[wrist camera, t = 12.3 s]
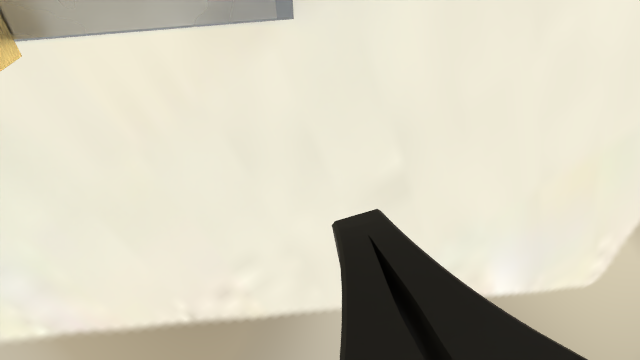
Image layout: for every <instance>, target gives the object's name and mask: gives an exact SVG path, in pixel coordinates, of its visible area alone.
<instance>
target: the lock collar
mask: <svg viewBox="0 0 640 360" xmlns="http://www.w3.org/2000/svg"><path fill="white" fill-rule="evenodd" d="M20 57H22V55H21V53H20V51H19V50H18V48H17V46H16V44H15V42H14V40H13V38H12V36H11V34H10V32H9V30H8V28H7V26H6V24H5V22H4V20H3V18H2V17H1V15H0V71H2V70H3V69H5V68H6V67H7V66H9V65H10V64H12V63H13V62H14V61H16V60H17V59H19V58H20Z"/></svg>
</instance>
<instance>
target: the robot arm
mask: <svg viewBox="0 0 640 360" xmlns="http://www.w3.org/2000/svg"><path fill="white" fill-rule="evenodd" d="M332 228H333V233H334V238H335V242H336V247H337V252H338V257H339V262H340V267H341V281H342V331H341V349H340V360H587V359H586V358H584V357H582V356H580V355H578V354H577V353H575V352H573V351H571V350H570V349H568V348H566V347H564V346H562V345H561V344H559V343H557V342H555V341H553V340H552V339H550V338H548V337H546V336H544V335H543V334H541V333H539V332H537V331H536V330H534V329H532V328H531V327H529V326H527V325H526V324H524V323H523V322H521V321H519V320H518V319H516V318H515V317H513V316H511V315H510V314H508V313H507V312H505V311H503V310H502V309H500V308H499V307H497V306H496V305H494V304H493V303H491V302H490V301H488V300H487V299H485V298H484V297H483V296H481V295H480V294H478V293H477V292H475V291H474V290H473V289H471V288H470V287H468V286H467V285H466V284H464V283H463V282H462V281H460V280H459V279H458V278H456V277H455V276H454V275H452V274H451V273H450V272H449V271H447V270H446V269H445V268H443V267H442V266H441V265H440V264H438V263H437V262H436V261H435V260H434V259H432V258H431V257H430V256H429V255H428V254H426V253H425V252H424V251H423V250H422V249H420V248H419V247H418V246H417V245H416V244H415V243H414V242H412V241H411V240H410V239H409V238H408V237H407V236H406V235H405V234H404V233H403V232H402V231H400V230H399V229H398V228H397V227H396V226H395V225H394V224H393V223H392V222H391V221H390V220H389V219H388V218H387V217H386V216H385V215H384V214H383V213H382V212H381V211H380V210H378V209H375V210H372V211H369V212H365V213H362V214H358V215H355V216H351V217H348V218H345V219H341V220H338V221H335V222H334V223H333V225H332Z"/></svg>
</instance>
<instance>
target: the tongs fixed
mask: <svg viewBox="0 0 640 360" xmlns="http://www.w3.org/2000/svg"><path fill="white" fill-rule="evenodd" d="M0 15H1V17H2V18H3V20H4V22H5V24H6V26H7V28H8V30H9V32H10V34H11V36H12V38H13V40H14V39H26V38H39V37H51V36H64V35H76V34H89V33H101V32H114V31H126V30H139V29H151V28H164V27H176V26H188V25H201V24H213V23H226V22H238V21H251V20H263V19H276V18H277V13H276V2H275V0H0Z"/></svg>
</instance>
